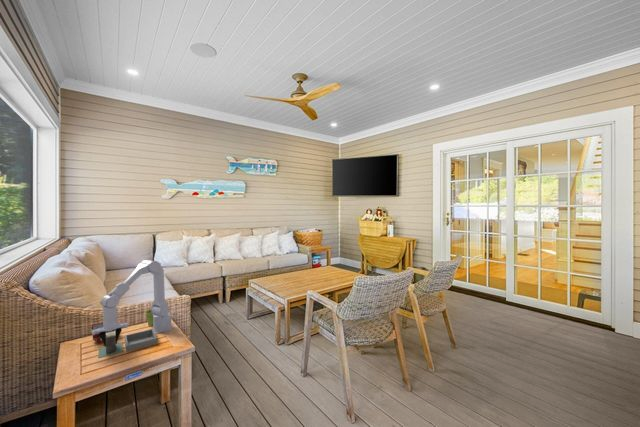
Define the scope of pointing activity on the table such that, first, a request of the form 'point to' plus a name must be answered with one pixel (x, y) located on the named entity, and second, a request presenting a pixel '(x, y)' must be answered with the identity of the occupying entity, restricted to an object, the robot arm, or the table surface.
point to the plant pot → (149, 317)
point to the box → (110, 342)
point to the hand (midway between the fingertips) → (110, 344)
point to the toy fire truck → (96, 336)
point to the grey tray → (140, 340)
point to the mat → (103, 352)
